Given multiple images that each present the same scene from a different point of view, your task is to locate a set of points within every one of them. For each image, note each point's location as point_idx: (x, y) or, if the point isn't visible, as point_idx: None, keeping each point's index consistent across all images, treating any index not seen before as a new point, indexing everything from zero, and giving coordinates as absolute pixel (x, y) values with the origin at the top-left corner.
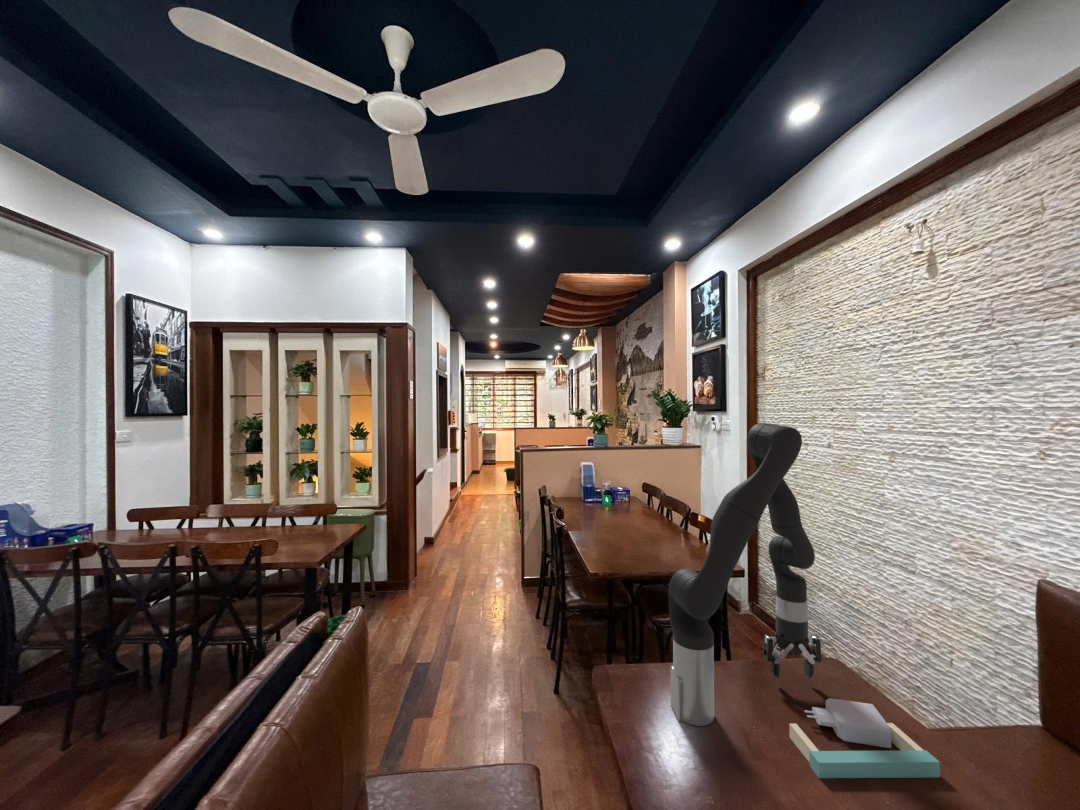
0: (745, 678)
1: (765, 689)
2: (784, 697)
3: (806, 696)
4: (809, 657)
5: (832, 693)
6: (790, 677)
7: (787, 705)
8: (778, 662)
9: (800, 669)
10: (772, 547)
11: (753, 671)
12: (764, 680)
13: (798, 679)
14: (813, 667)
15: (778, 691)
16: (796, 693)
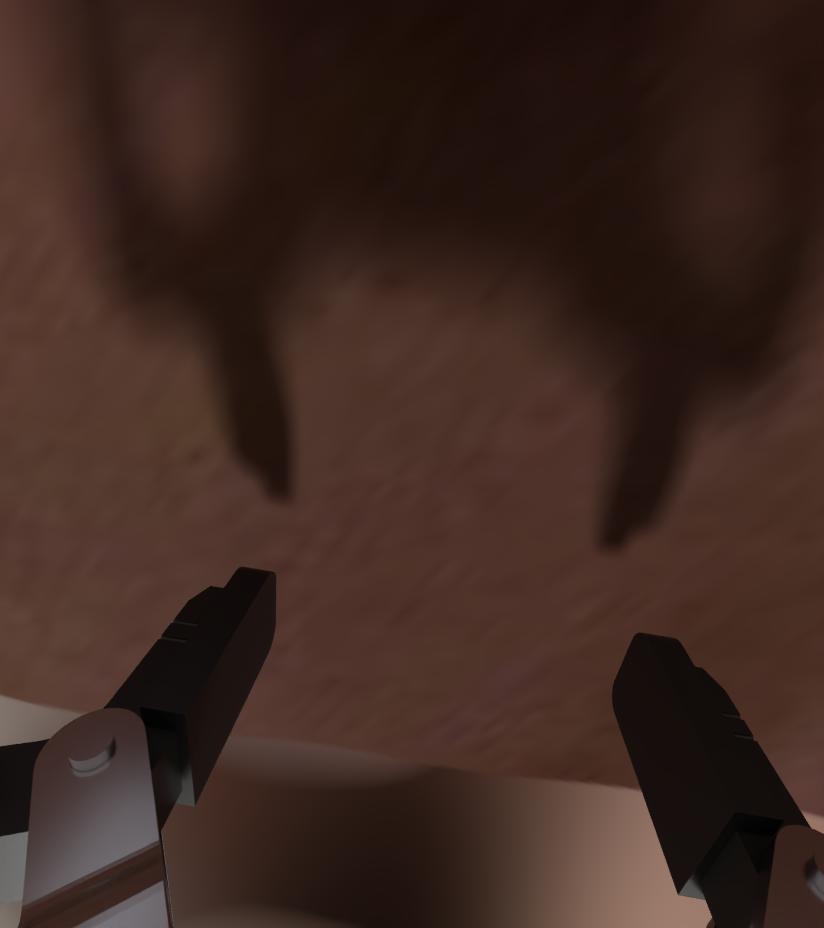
0: (811, 712)
1: (782, 559)
2: (705, 416)
3: (441, 393)
4: (87, 870)
5: (131, 395)
6: (382, 652)
7: (816, 273)
8: (786, 860)
9: None
10: None
11: None
12: None
13: (329, 620)
14: (139, 665)
15: (675, 511)
16: (510, 454)
